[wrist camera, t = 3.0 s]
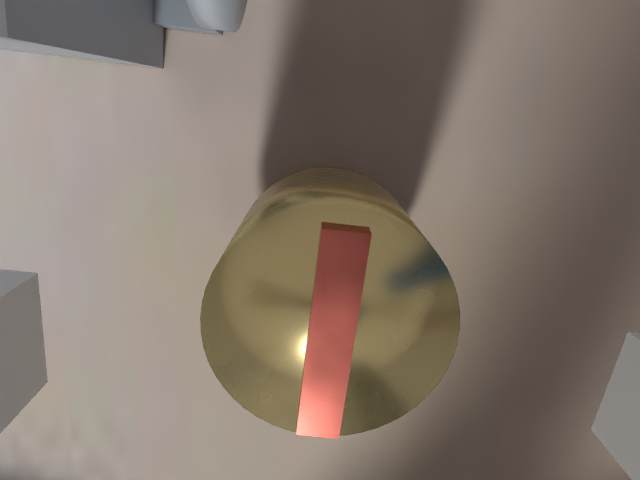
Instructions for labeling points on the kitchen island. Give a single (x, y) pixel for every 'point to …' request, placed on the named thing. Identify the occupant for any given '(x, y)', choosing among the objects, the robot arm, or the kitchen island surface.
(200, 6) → the grey box with flanges
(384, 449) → the kitchen island surface
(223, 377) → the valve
